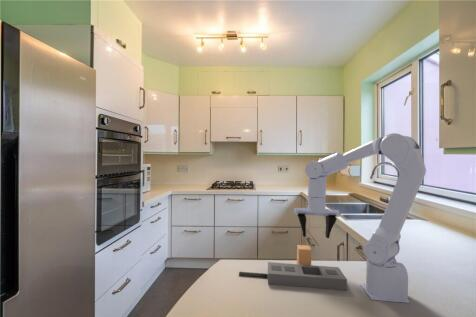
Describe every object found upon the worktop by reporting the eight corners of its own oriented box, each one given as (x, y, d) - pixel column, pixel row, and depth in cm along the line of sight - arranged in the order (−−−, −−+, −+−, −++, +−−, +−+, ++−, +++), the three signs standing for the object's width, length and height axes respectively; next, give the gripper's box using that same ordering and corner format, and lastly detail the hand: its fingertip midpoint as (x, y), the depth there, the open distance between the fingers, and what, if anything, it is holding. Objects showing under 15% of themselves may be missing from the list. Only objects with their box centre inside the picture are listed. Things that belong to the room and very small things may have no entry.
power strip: (338, 276, 77) (338, 266, 77) (346, 290, 69) (347, 279, 69) (240, 269, 81) (240, 259, 81) (237, 281, 73) (237, 270, 73)
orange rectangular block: (308, 266, 85) (309, 245, 85) (310, 271, 81) (311, 249, 81) (296, 265, 85) (297, 244, 85) (298, 270, 81) (299, 249, 81)
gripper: (335, 195, 87) (334, 234, 87) (293, 194, 89) (292, 231, 89) (341, 199, 80) (340, 240, 80) (296, 197, 82) (295, 238, 82)
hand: (315, 236), depth 84 cm, fingers open, 7 cm apart
